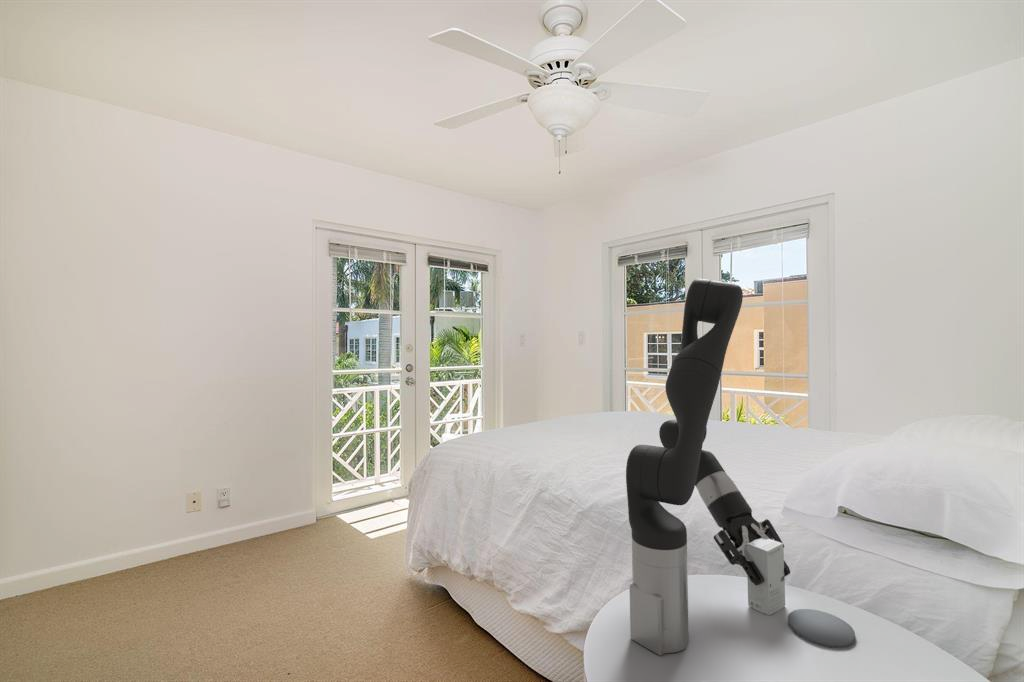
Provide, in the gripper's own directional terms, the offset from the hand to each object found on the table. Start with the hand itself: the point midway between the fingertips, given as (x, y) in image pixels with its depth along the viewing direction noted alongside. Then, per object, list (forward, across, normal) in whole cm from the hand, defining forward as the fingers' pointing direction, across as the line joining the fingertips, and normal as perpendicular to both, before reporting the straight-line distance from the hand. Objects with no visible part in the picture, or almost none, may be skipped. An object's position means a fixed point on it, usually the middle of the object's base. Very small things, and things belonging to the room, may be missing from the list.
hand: (773, 579), depth 92 cm
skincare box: (+3, 0, +6) cm, 6 cm away
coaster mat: (+10, +2, -1) cm, 10 cm away
